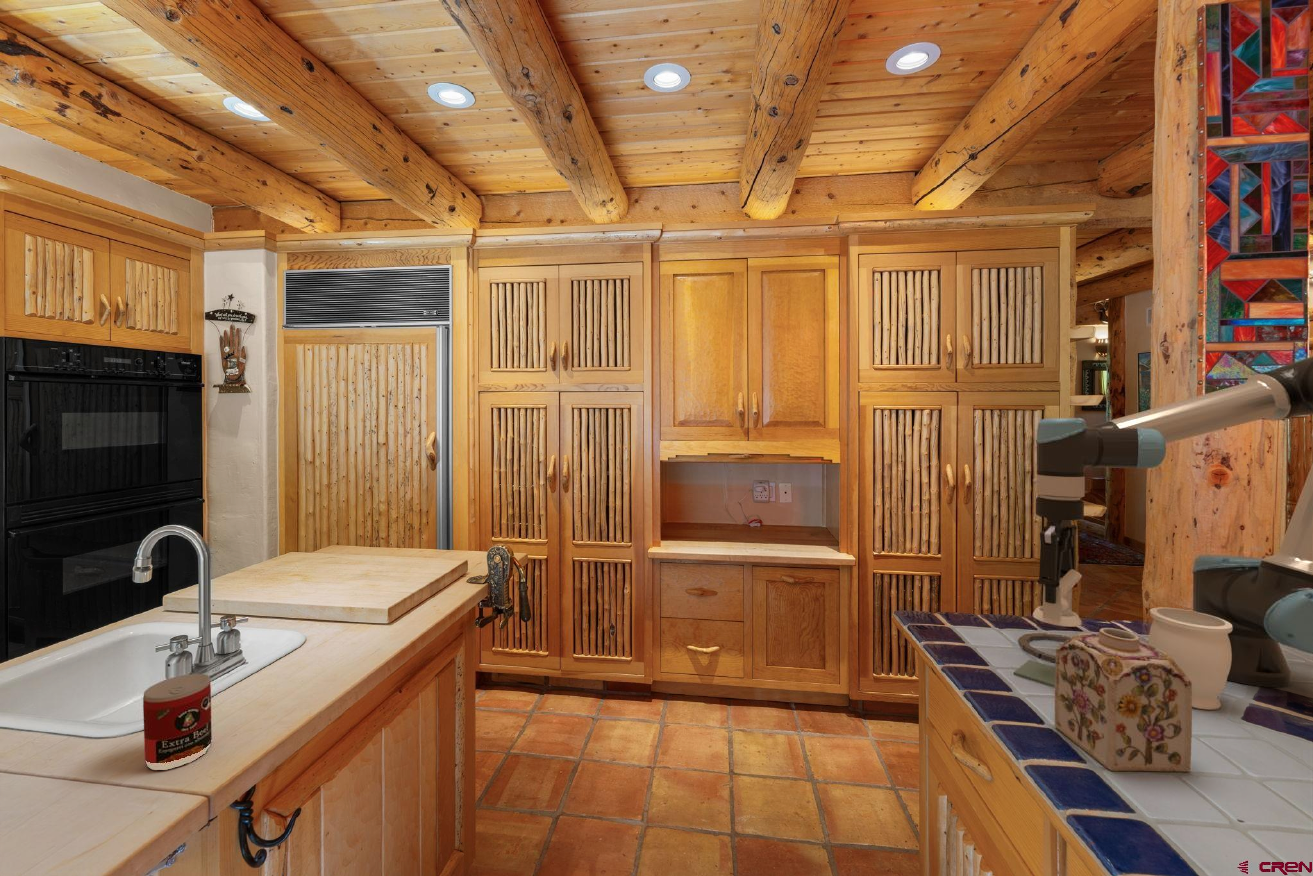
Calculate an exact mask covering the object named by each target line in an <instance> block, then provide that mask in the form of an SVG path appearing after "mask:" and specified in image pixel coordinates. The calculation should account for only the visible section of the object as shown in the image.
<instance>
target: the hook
mask: <svg viewBox="0 0 1313 876" xmlns="http://www.w3.org/2000/svg"><path fill="white" fill-rule="evenodd" d="M1082 576H1083V575H1082V574H1081V573H1080V572H1079V571H1077V569H1076V570H1074V569H1071V570H1070V571H1069V572H1068V573H1067V574H1066V575H1065V576H1064V577H1063V578H1062V579H1061V580H1060V585H1059V586H1061V621H1055V620H1051V619H1047V618H1043V605H1039V606H1037V607H1036V608H1035V610H1034V611H1033V613H1032V617H1033V618H1035V620H1038V621H1040V622H1043V623H1046V624H1049V625H1054V626H1060V627H1070V628H1072V627H1073V628H1074V627H1079V626H1082V620H1081V618H1080V617H1079V615H1078V613H1076V612H1075V611H1071V610H1068V607H1069V605H1068V602H1067V601H1066V600H1065V599H1064V598H1063V597H1064V596H1065V595H1066V594H1067V592H1069V590H1070V589H1071V588H1072V589H1073V587H1074V586H1075V585H1076V584H1077V583H1078V582H1079V581H1080V580H1081V579H1082Z"/></svg>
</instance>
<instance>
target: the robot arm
mask: <svg viewBox="0 0 1313 876" xmlns="http://www.w3.org/2000/svg"><path fill="white" fill-rule="evenodd" d="M1312 415H1313V356H1310V357H1307V358H1305V359H1300V360H1297V361H1295V362H1292V363H1289V364H1286V365H1283V366H1280V367H1277V368H1274V369H1271V370H1268V371H1265V372H1260V373H1257V374H1254V375H1252V376H1250V377H1248V378H1247V379H1246V381H1245V382H1244V383H1240V384H1237V385H1233V386H1230V387H1226V388H1223V389H1220V390H1215V391H1211V392H1208V393H1205V394H1204V393H1203V394H1201V395H1198V396H1197V395H1196V396H1194V397H1191V398H1187V399H1184V400H1179V401H1176V402H1172V403H1169V404H1164V405H1161V406H1158V407H1154V408H1151V409H1148V410H1143V411H1140V412H1137V413H1132V414H1128V415H1124V416H1122V417H1118V418H1114V419H1111V420H1108V421H1103V422H1099V423H1097V424H1093V425H1089V426H1087V425H1086V424H1087V423H1086V420H1085V419H1084V418H1081V417H1073V418H1072V417H1055V418H1054V417H1053V418H1052V417H1051V418H1050V417H1049V418H1047V417H1046V418H1043V419H1041V420H1039V422H1038V424H1037V429H1036V439H1035V445H1036V478H1033V479H1032V482H1033V483H1034V484H1035V487H1036V489H1035V490H1036V491H1035V494H1037V495H1038V496H1037V497H1036V498H1035V515H1037V516H1038V517H1039V518H1045V519H1046V524H1045V525H1046V526H1044V527H1043V530H1041V531H1040V532H1039V539H1040V550H1039V551H1040V553H1039V571H1038V572H1039V573H1038V574H1039V578H1038V579H1037V584H1040V585H1042V606H1043V618H1047V619H1051V620H1055V621H1061V616H1062V615H1061V586H1059V585H1060V580H1061V579H1062V578H1063V577H1064V576H1065V575H1066V574H1067V573H1068V572H1069V571H1070V570H1071V569H1074V570H1076V571H1077V569H1076V568H1077V567H1076V565H1077V564H1076V562H1077V561H1076V560H1077V557H1076V556H1077V555H1076V554H1077V552H1076V551H1077V550H1076V549H1077V547H1076V546H1077V543H1076V542H1077V541H1076V539H1077V538H1076V537H1077V528H1078V527H1077V525H1076V524H1072V521H1080V520H1082V519H1084V516H1085V515H1084V514H1085V502H1084V501H1083V499H1081V498H1084V497H1085V488H1086V487H1085V486H1086V485H1085V478H1086V477H1085V470H1086V468H1111V469H1112V468H1113V469H1115V468H1116V469H1117V468H1118V469H1135V470H1139V469H1154V468H1156V467H1158V466H1160V465H1161V464H1162V463H1163V462H1164V460H1165V458H1166V456H1167V444H1169V443H1174V442H1178V441H1181V440H1185V439H1190V438H1194V437H1197V436H1201V435H1205V434H1208V433H1212V432H1218V431H1220V430H1223V429H1227V428H1232V427H1236V426H1240V425H1244V424H1247V423H1251V422H1255V421H1258V420H1263V419H1264V420H1267V421H1273V422H1275V421H1280V420H1281V421H1282V420H1285V419H1289V418H1293V417H1301V416H1312ZM1279 547H1280V548H1278V549H1279V550H1278V552H1277V553H1275V554H1273V555H1269V556H1267V557H1263V558H1259V557H1252V556H1251V557H1249V556H1238V555H1221V554H1201V555H1198V556H1197V557H1196V558H1195V559H1194V562H1193V567H1192V570H1191V571H1192V575H1193V576H1192V577H1193V579H1192V581H1193V583H1192V585H1193V587H1192V611H1195V612H1199V613H1204V614H1208V615H1211V616H1214V617H1217V618H1220V619H1223V620H1225V621H1227V622H1229V623H1230V624H1231V625H1232V628H1233V630H1232V632H1230V633H1228V637H1229V640H1230V644H1231V651H1232V661H1231V667H1230V671H1229V674H1228V677H1227V681H1231V682H1236V683H1241V684H1244V685H1251V686H1258V687H1266V688H1267V687H1268V688H1282V687H1287V686H1290V684H1291V673H1292V672H1291V669H1290V666H1289V665H1288V662H1287V660H1286V658H1285V655H1284V653H1283V650H1282V648H1281V646H1280V645H1283V646H1285V647H1286V646H1287V647H1290V648H1292V649H1297V650H1299V651H1301V652H1305V653H1308V654H1313V463H1312V464H1311V467H1310V470H1309V472H1308V475H1307V477H1306V480H1305V482H1304V486H1303V487H1302V490H1301V493H1300V496H1299V498H1298V499H1297V503H1296V506H1295V508H1294V511H1293V513H1292V516H1291V518H1290V521H1289V524H1288V526H1287V529H1286V532H1285V534H1284V537H1283V540H1282V542H1281V544H1280V546H1279ZM1063 598H1064V599H1065V600H1066V601H1067V602H1068V605H1069V607H1068V610H1071V611H1072V610H1073V607H1072V605H1073V587H1072V588H1071V589H1070V590H1069V592H1067V594H1066V595H1065V596H1064V597H1063Z"/></svg>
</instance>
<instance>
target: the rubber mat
mask: <svg viewBox="0 0 1313 876" xmlns="http://www.w3.org/2000/svg"><path fill="white" fill-rule="evenodd" d="M1013 675H1014V676H1017V677H1020V678H1023V679H1027V680H1031V681H1033V682H1036V683H1040V684H1042V685H1045V686H1048V687H1052V688H1055V666H1052V665H1049V664H1046V663H1043V662H1040V661H1039V662H1038V661H1037V660H1032V659H1028V660H1027V661H1025V663H1023V664H1022V665H1020V666H1019V667H1018V668H1017V669H1016V670H1015V671H1013Z"/></svg>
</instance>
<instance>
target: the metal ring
mask: <svg viewBox="0 0 1313 876" xmlns="http://www.w3.org/2000/svg"><path fill="white" fill-rule="evenodd" d="M1070 638H1072V637H1070V636H1066V635H1061V634H1053V633H1045V632H1037V633H1024V634H1023V635H1022V636H1020V637H1018V646H1020V648H1021V647H1022V648H1021V649H1022V650H1023V651H1024V652H1025V651H1026V652H1025V653H1028V654H1030V655H1031V656H1034V657H1036V658H1037V659H1041V660H1043V661H1047V662H1049V661H1050V663H1054V664H1056V655H1053V654H1050V653H1047V652H1043V651H1042V650H1039V649H1038V648H1036V647H1033V646H1032V645H1031V644H1030V643H1031V642H1032V640H1035V641H1051V642H1059V641H1060V643H1064V642H1066V641H1067V640H1069V639H1070ZM1030 641H1031V642H1030Z"/></svg>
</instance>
